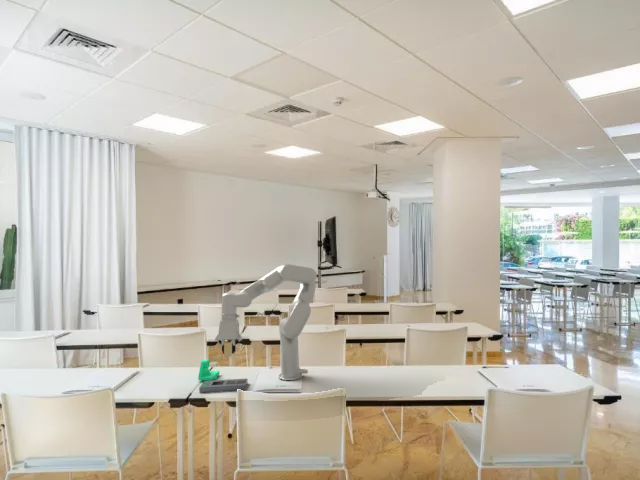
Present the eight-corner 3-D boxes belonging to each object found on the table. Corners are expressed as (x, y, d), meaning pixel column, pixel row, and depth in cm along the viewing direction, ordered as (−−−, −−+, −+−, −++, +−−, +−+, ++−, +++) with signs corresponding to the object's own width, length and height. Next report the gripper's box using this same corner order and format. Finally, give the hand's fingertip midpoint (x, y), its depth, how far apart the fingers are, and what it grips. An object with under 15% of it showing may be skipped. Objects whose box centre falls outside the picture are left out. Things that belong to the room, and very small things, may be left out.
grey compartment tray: (247, 383, 199) (247, 378, 199) (245, 390, 189) (244, 384, 190) (204, 385, 198) (204, 380, 198) (199, 392, 188) (199, 387, 188)
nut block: (233, 354, 201) (233, 340, 201) (231, 356, 197) (232, 342, 197) (225, 354, 201) (225, 340, 201) (224, 356, 197) (224, 342, 197)
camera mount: (212, 382, 204) (212, 362, 204) (198, 382, 204) (197, 362, 205) (220, 375, 216) (219, 356, 216) (206, 375, 216) (206, 356, 217)
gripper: (246, 316, 204) (246, 351, 203) (214, 316, 203) (213, 351, 202) (244, 318, 196) (243, 354, 195) (210, 318, 195) (210, 355, 195)
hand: (228, 352), depth 199 cm, fingers closed on nut block, 4 cm apart
